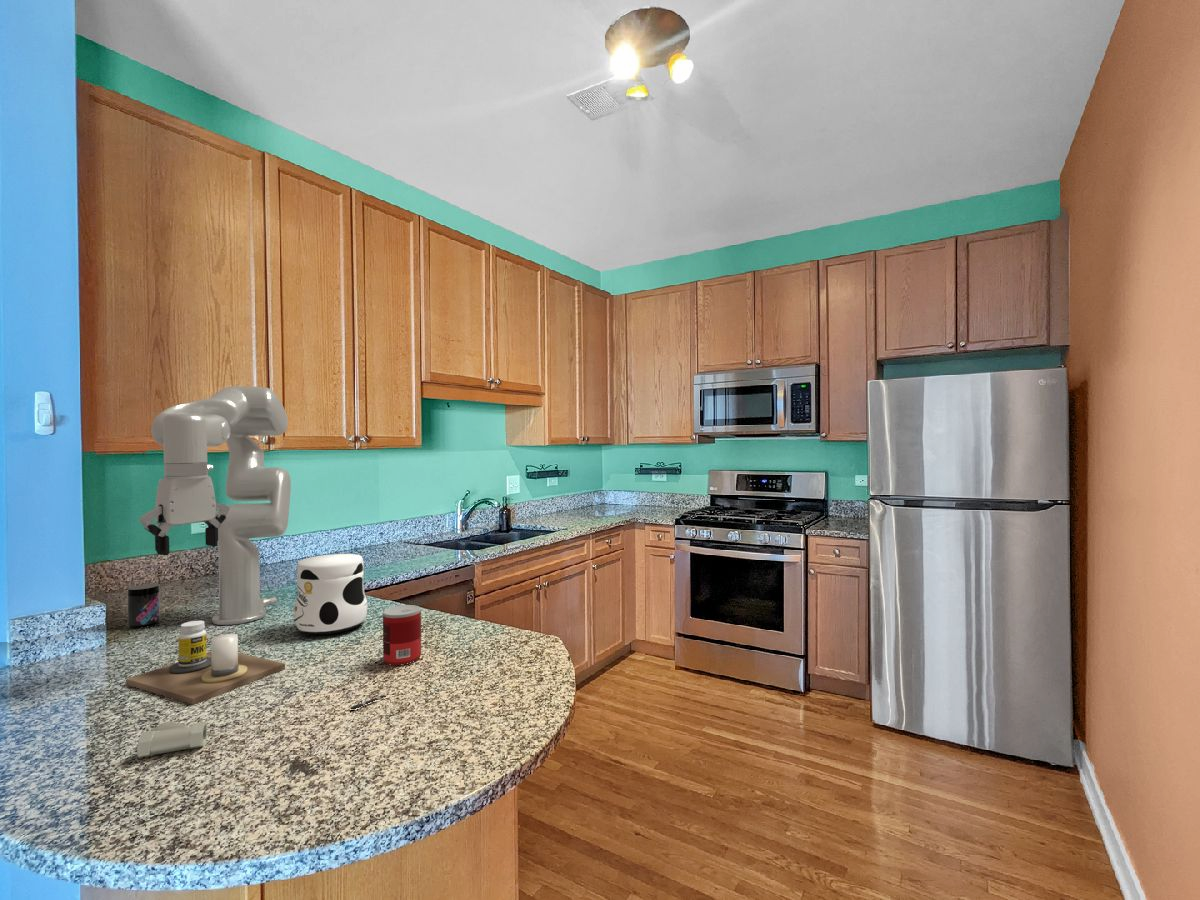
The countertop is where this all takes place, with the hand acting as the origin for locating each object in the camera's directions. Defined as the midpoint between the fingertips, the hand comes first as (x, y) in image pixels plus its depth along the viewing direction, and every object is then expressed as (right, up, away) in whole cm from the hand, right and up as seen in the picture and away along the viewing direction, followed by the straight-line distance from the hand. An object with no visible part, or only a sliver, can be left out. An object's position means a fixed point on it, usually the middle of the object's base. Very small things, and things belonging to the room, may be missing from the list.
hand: (188, 549), depth 120 cm
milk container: (+20, -25, +24) cm, 40 cm away
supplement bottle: (+4, -23, -4) cm, 24 cm away
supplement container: (-32, -25, +28) cm, 50 cm away
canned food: (+46, -25, +2) cm, 52 cm away
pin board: (+9, -25, -7) cm, 27 cm away
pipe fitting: (+23, -25, -33) cm, 47 cm away
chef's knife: (+52, -25, -15) cm, 59 cm away
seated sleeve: (+14, -23, -9) cm, 28 cm away
